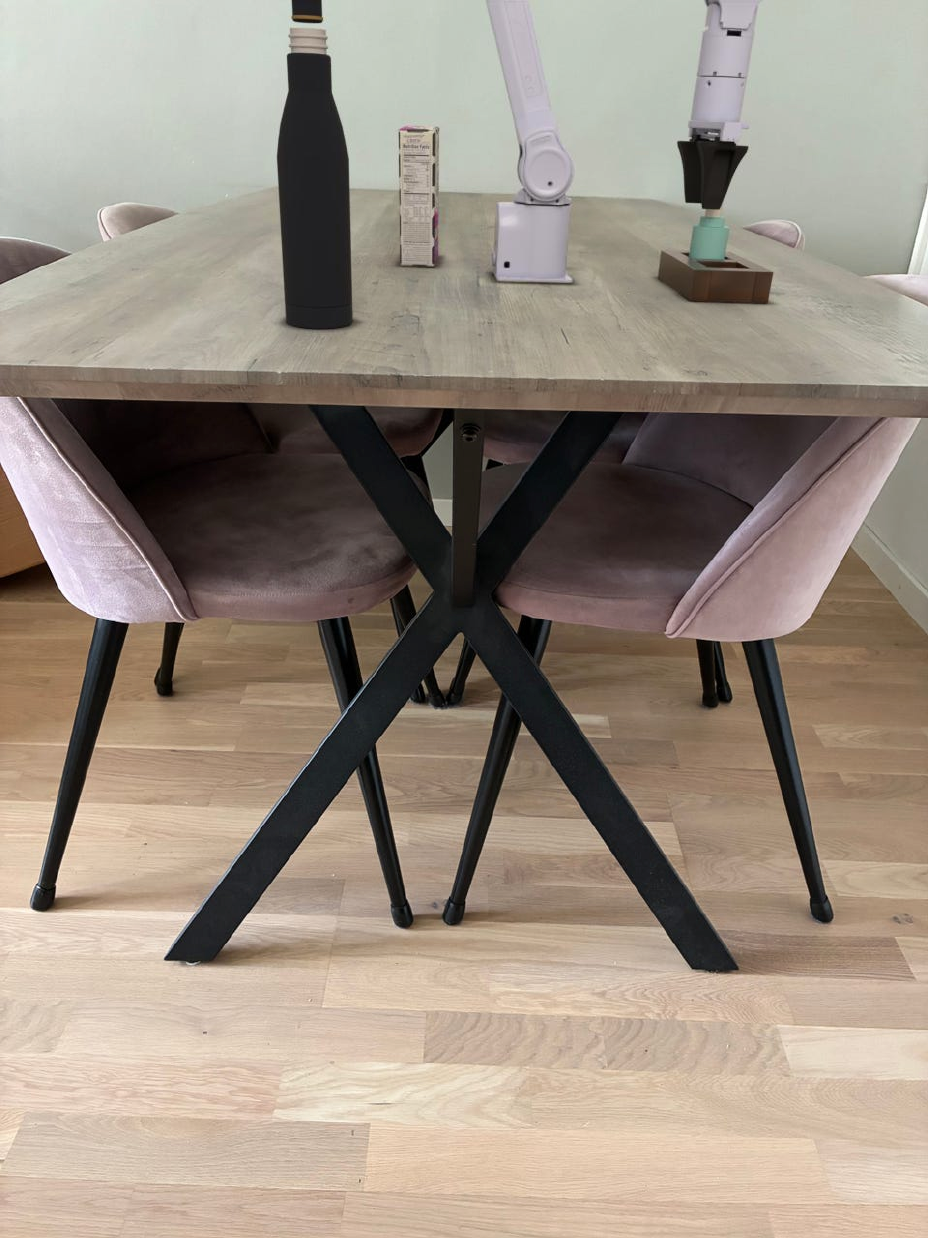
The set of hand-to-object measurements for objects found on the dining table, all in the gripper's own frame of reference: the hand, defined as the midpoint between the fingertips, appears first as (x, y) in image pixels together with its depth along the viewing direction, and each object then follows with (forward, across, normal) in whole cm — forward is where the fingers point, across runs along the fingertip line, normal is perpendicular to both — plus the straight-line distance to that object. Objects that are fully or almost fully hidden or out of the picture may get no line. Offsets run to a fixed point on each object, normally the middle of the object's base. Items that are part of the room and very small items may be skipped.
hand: (702, 205), depth 113 cm
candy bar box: (+10, +13, +35) cm, 38 cm away
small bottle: (+9, 0, -2) cm, 9 cm away
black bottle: (+10, -29, +45) cm, 54 cm away
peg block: (+9, -4, -1) cm, 10 cm away
